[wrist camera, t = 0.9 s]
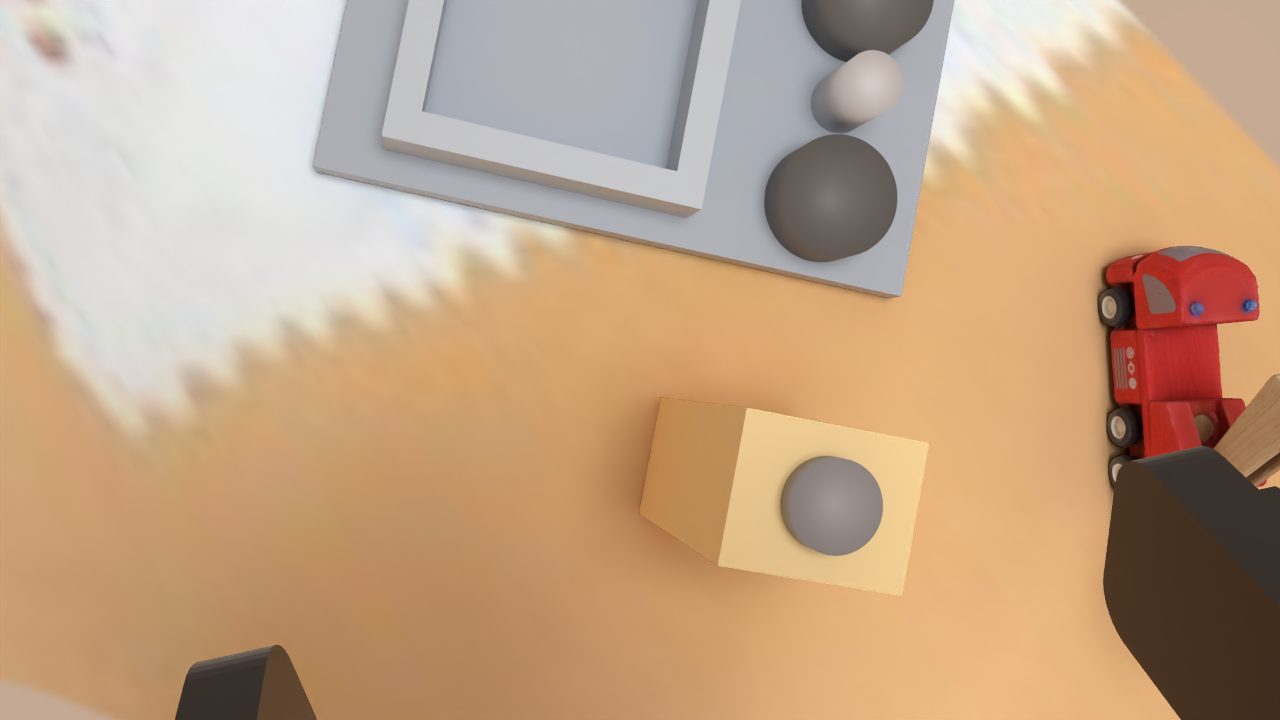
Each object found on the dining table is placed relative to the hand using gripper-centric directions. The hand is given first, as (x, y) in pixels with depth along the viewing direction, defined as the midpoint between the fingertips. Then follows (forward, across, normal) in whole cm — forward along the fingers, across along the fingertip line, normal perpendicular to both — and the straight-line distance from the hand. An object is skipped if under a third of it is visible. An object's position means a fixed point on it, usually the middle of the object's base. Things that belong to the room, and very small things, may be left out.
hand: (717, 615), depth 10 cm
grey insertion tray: (+29, -4, +4) cm, 29 cm away
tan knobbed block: (+22, -4, +16) cm, 27 cm away
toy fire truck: (+22, -20, +19) cm, 35 cm away
